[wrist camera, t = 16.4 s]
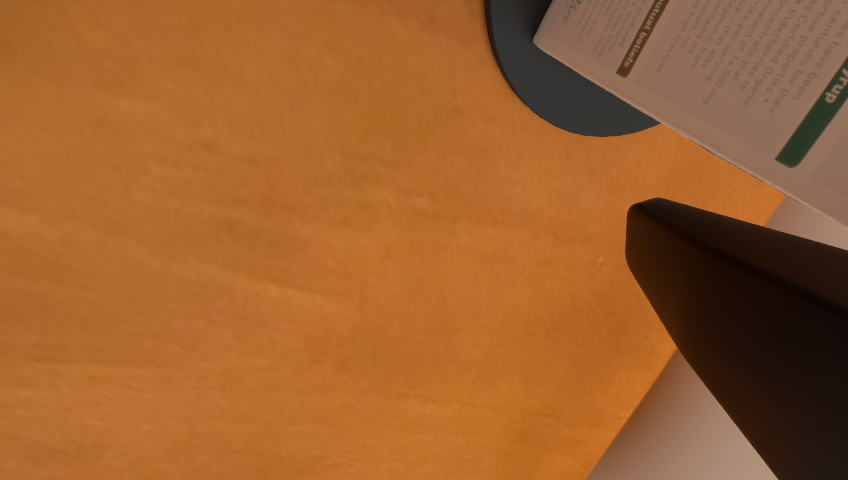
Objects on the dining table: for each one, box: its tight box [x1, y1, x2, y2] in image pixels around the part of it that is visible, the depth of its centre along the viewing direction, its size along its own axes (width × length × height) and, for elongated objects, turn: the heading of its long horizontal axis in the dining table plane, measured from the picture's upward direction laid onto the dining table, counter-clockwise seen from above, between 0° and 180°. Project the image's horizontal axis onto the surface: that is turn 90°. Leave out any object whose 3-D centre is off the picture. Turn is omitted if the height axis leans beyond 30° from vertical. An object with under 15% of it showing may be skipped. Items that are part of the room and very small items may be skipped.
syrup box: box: [533, 0, 848, 230], centre depth 15 cm, size 6×6×14 cm
